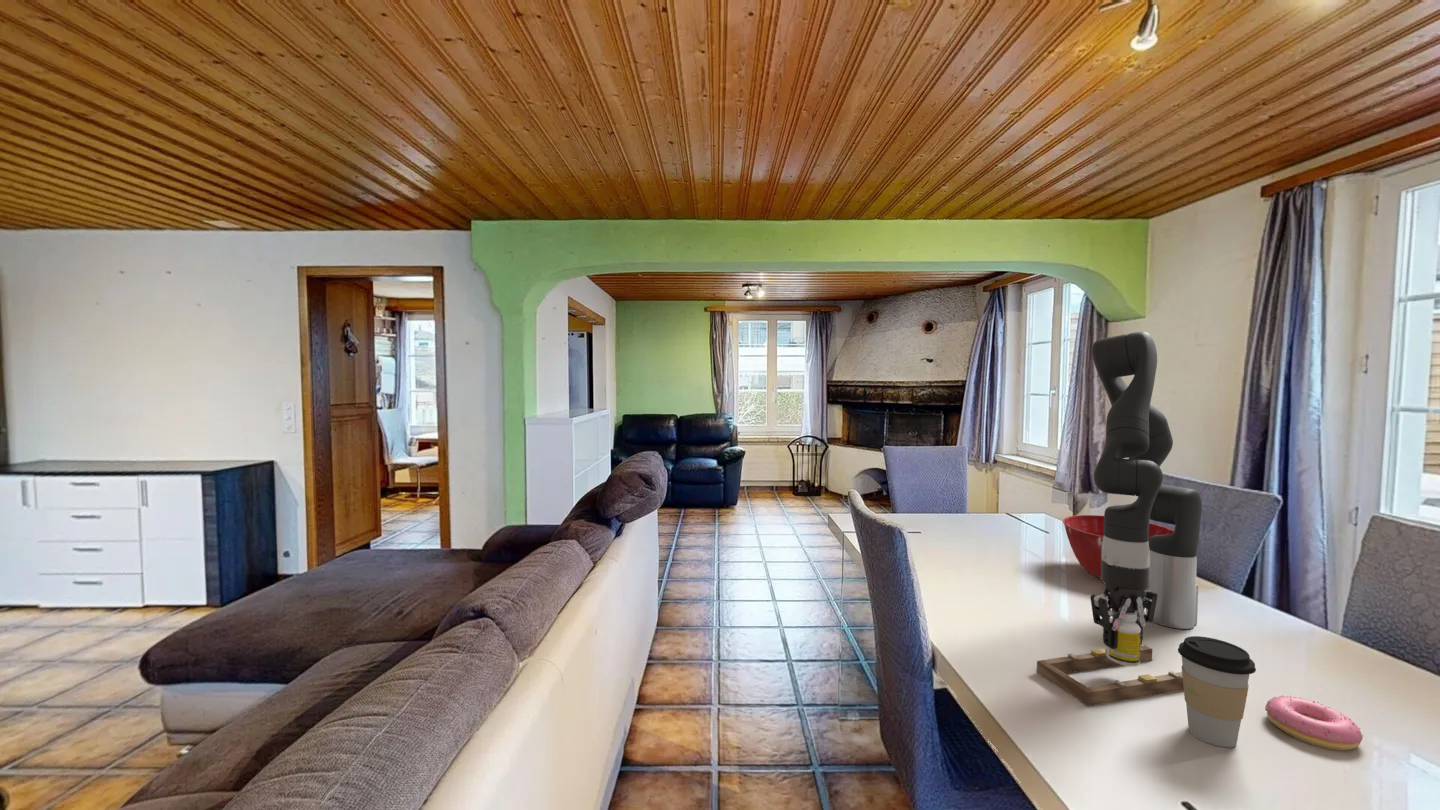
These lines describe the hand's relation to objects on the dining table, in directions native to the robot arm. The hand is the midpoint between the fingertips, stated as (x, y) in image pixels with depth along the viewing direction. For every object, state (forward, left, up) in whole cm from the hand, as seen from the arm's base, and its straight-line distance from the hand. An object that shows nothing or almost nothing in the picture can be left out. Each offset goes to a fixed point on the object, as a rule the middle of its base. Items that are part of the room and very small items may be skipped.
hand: (1122, 644), depth 106 cm
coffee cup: (+2, +17, -7) cm, 19 cm away
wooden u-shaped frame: (0, 0, -7) cm, 7 cm away
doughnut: (-15, +20, -7) cm, 26 cm away
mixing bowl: (-52, -45, -7) cm, 69 cm away
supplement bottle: (0, 0, -3) cm, 3 cm away
